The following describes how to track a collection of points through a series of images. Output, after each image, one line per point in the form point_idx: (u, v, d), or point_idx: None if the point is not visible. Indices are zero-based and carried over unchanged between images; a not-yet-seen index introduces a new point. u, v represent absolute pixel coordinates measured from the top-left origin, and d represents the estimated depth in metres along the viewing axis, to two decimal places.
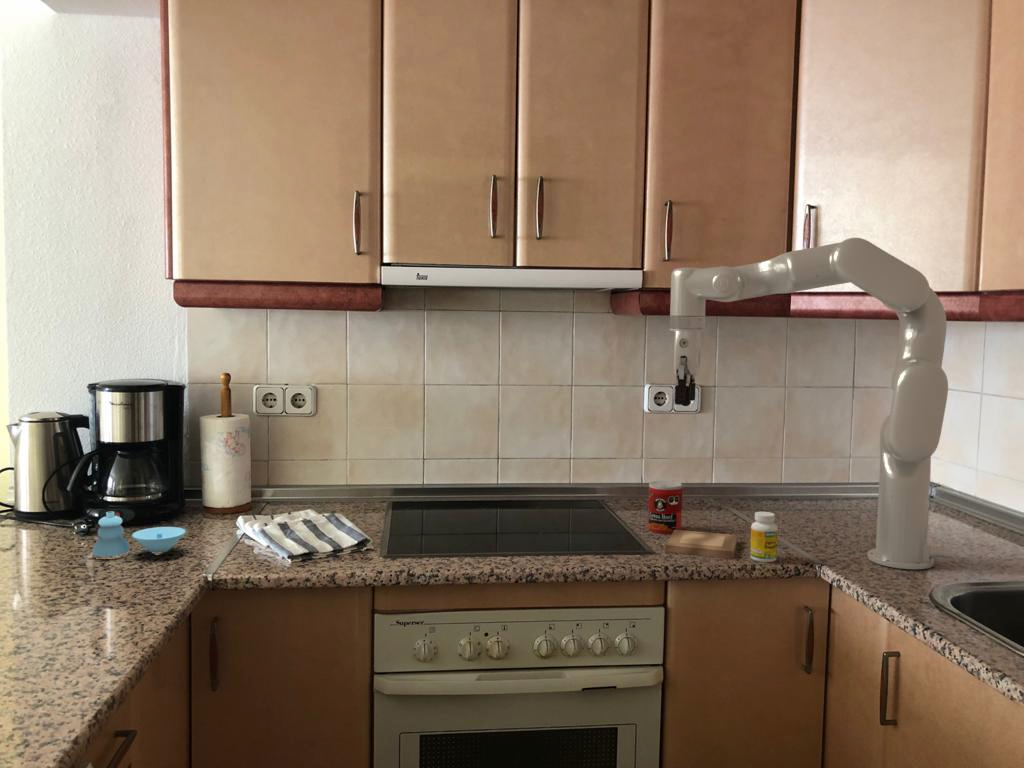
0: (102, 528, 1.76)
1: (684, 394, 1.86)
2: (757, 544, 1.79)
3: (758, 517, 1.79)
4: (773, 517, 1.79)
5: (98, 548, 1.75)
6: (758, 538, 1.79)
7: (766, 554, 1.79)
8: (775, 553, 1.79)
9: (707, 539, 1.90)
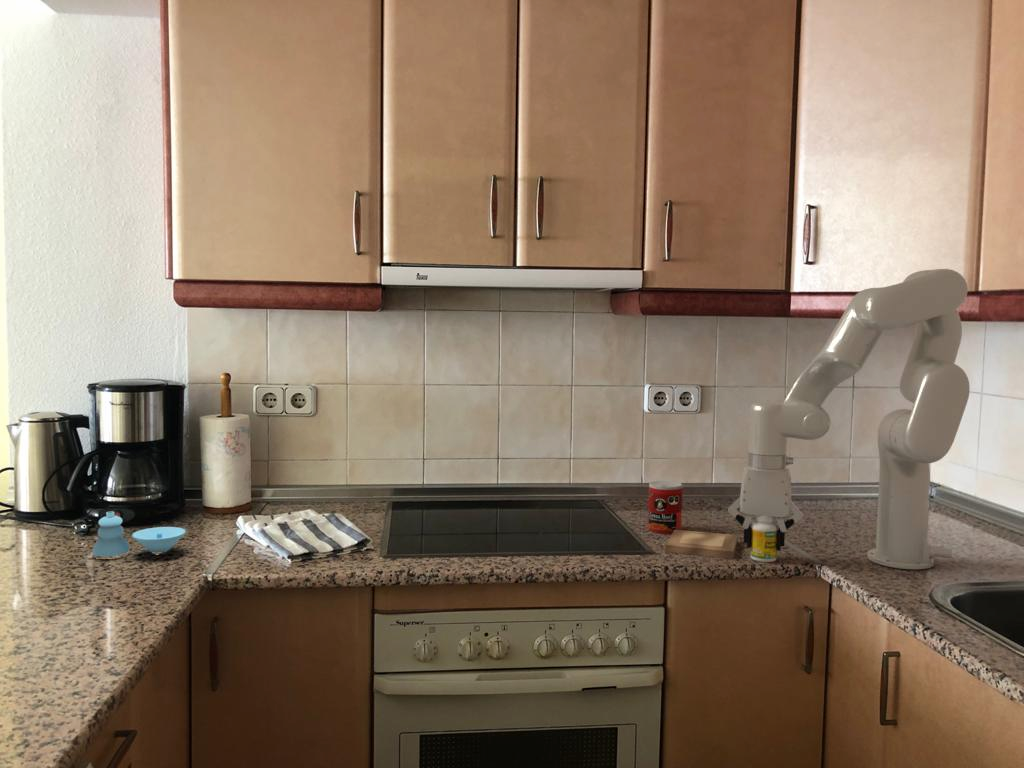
0: (102, 528, 1.76)
1: None
2: (757, 544, 1.79)
3: (758, 517, 1.79)
4: None
5: (98, 548, 1.75)
6: (758, 538, 1.79)
7: (766, 554, 1.79)
8: (775, 553, 1.79)
9: (707, 539, 1.90)
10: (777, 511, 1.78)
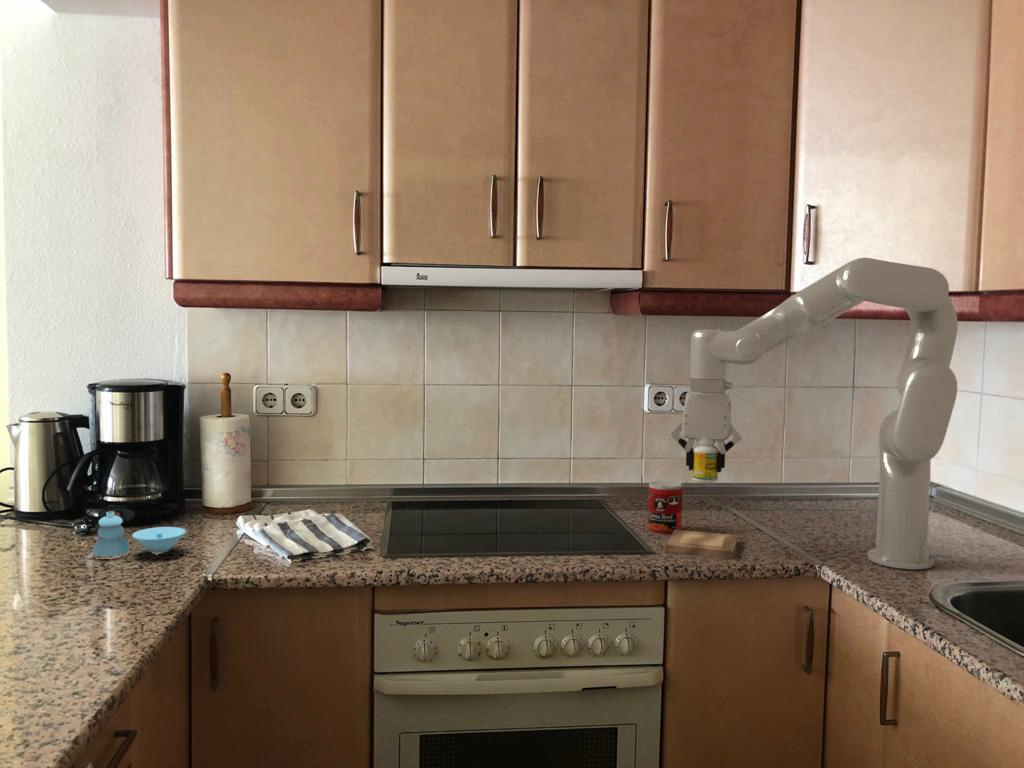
0: (102, 528, 1.76)
1: None
2: (698, 465, 1.87)
3: (699, 440, 1.87)
4: (714, 440, 1.87)
5: (98, 548, 1.75)
6: (699, 460, 1.86)
7: (706, 475, 1.86)
8: (716, 475, 1.87)
9: (707, 539, 1.90)
10: (717, 433, 1.85)
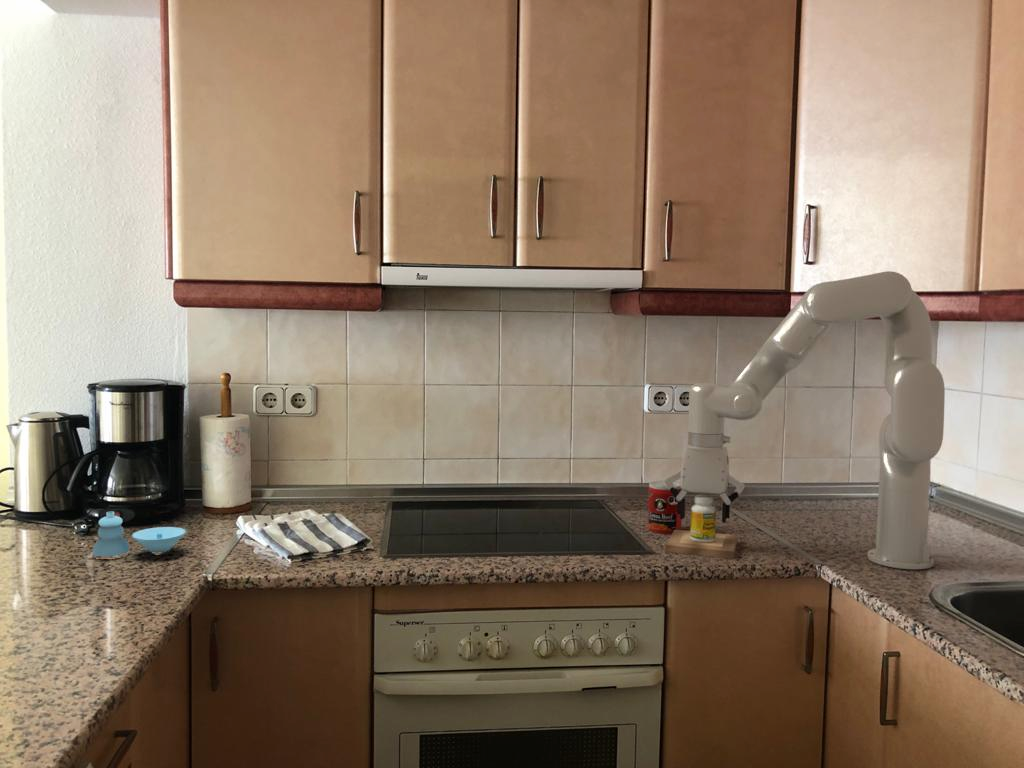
0: (102, 528, 1.76)
1: (729, 510, 1.88)
2: (696, 525, 1.88)
3: (697, 499, 1.88)
4: (711, 499, 1.88)
5: (98, 549, 1.75)
6: (697, 519, 1.87)
7: (704, 535, 1.87)
8: (713, 534, 1.88)
9: None
10: (715, 487, 1.86)
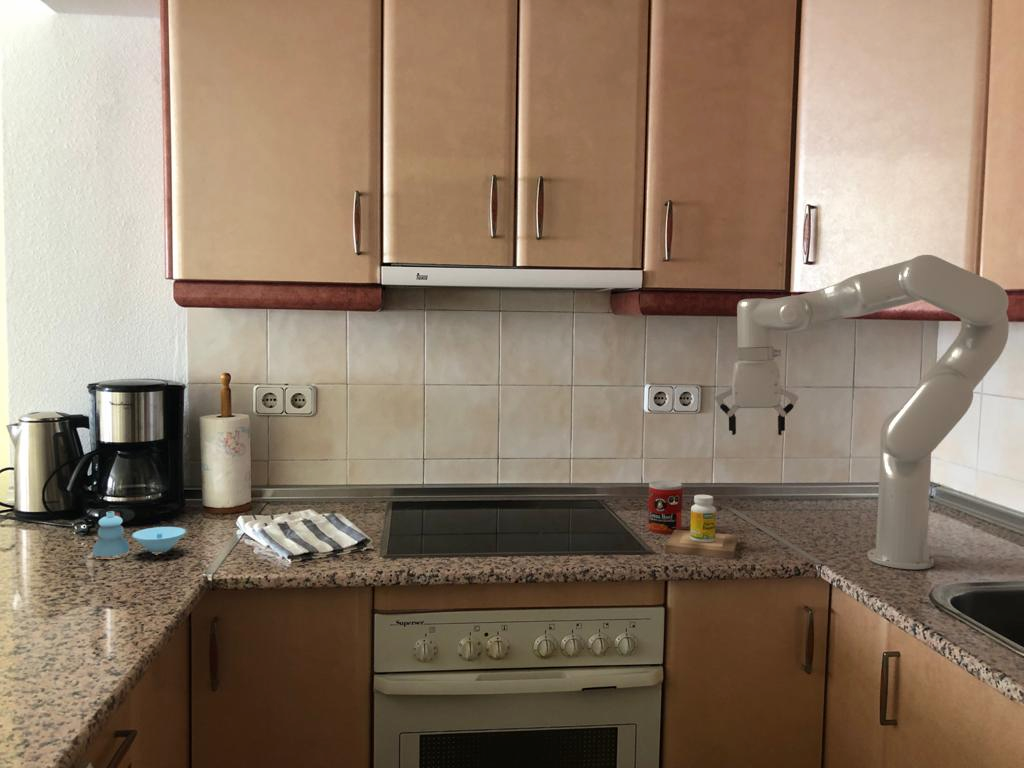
0: (102, 528, 1.76)
1: None
2: (696, 525, 1.88)
3: (697, 499, 1.88)
4: (711, 499, 1.88)
5: (98, 548, 1.75)
6: (697, 519, 1.88)
7: (704, 535, 1.87)
8: (713, 534, 1.88)
9: None
10: (768, 400, 1.86)
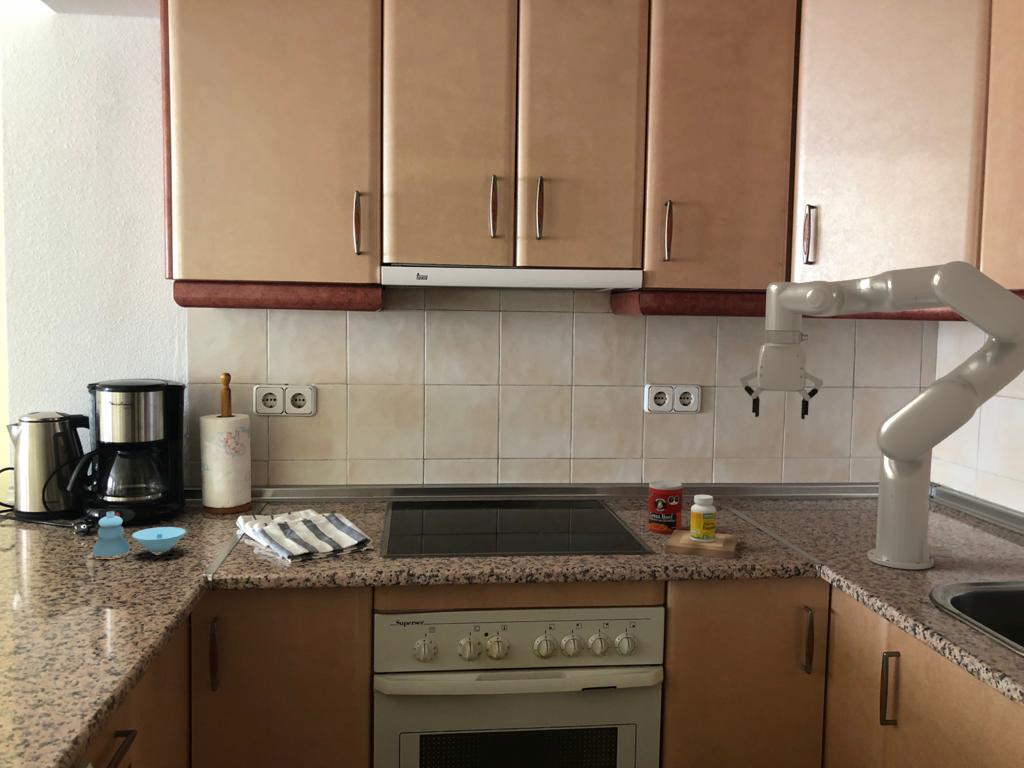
0: (102, 528, 1.76)
1: None
2: (696, 525, 1.88)
3: (697, 500, 1.88)
4: (711, 499, 1.88)
5: (98, 549, 1.75)
6: (697, 519, 1.88)
7: (704, 535, 1.87)
8: (713, 534, 1.88)
9: None
10: (793, 384, 1.87)
